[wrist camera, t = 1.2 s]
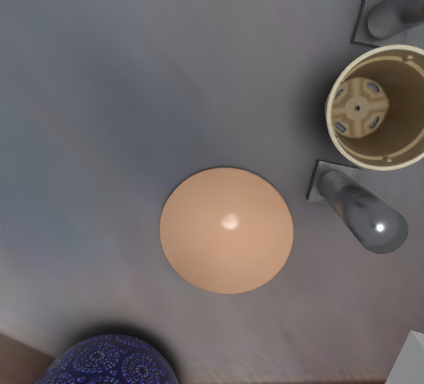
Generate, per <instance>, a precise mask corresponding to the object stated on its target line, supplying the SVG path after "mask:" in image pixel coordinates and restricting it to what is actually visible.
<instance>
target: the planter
mask: <svg viewBox="0 0 424 384" xmlns="http://www.w3.org/2000/svg"><path fill="white" fill-rule="evenodd" d="M33 384H179V383H178V380H177V378H176V375H175V373H174V371H173V369H172V367H171V366H170V364H169V363H168V361H167V360H166V359H165V357H164V356H163V355H162V354H161V353H160V352H159V351H158V350H157V349H156V348H154V347H153V346H152V345H150V344H149V343H147V342H145V341H143V340H141V339H139V338H136V337H133V336H129V335H124V334H104V335H98V336H94V337H91V338H89V339H86V340H83V341H81V342H79V343H77V344H75V345H73V346H72V347H70V348H68V349H67V350H65V351H64V352H63V353H62V354H61V355H59V356H58V357H57V358H56V359H55V360H54V361H53V362H52V363H51V364H50V365H49V366H48V367H47V368H46V369H45V370H44V372H43V373H42V374H41V375H40V376H39V377H38V378H37V379H36V381H35V382H34V383H33Z"/></svg>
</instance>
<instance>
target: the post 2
mask: <svg viewBox="0 0 424 384" xmlns="http://www.w3.org/2000/svg"><path fill="white" fill-rule="evenodd" d="M361 172H362V170H361V169H360V168H357V167H353V166H348V165H343V164H338V163H333V162H329V161H324V160H319V159H317V162H316V165H315V169H314V172H313V176H312V179H311V183H310V186H309V190H308V193H307V197H306V199H307V200H308V201H310V202H314V203H319V204H324V205H328V206H331V207H332V208H333V210H334V211H335V212H336V213H337V214H338V216H339V217H340V218H341V219H342V221H343V222H344V223H345V224H346V226H347V227H348V228H349V229H350V230H351V232H352V233H353V234H354V235H355V237H356V238H357V239H358V240H359V242H360V243H361V244H362V245H363V246H364V247H365V248H366V249H367V250H369V251H371V252H373V253H377V254H385V253H390V252H392V251H394V250H396V249H398V248H399V247H400V246H401V245H402V244H403V243H404V242H405V240H406V238H407V235H408V225H407V222H406V220H405V218H404V217H403V216H402V215H401V214H399V213H398V212H397V211H395V210H394V209H393V208H391V207H390V206H388V205H387V204H386V203H384V202H383V201H382V200H380V199H379V198H377V197H376V196H375V195H373V194H372V193H371V192H369V191H368V190H367V189H365V188H364V187H362V186H361V185H360V184H358V182H359V179H360V175H361Z"/></svg>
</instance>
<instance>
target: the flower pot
mask: <svg viewBox="0 0 424 384" xmlns="http://www.w3.org/2000/svg"><path fill="white" fill-rule="evenodd" d="M368 83H373V84H375V85H376V86H377V87H378V90H379V91H378V92H376V91H375V90H374V89H372V88H371V87H370V86H368ZM341 89H343V91H342V92H341V93H340V95H339V96H338V97H337V98H335V96H336V94H337V92H338V91H339V90H341ZM356 106H359V110H355V108H356ZM377 117H379V119H378V122H377V123H376V124H375V126H374V127H373V128H370V127H369V125H370V124H371V123H372V122H373V121H374V120H375V119H376V118H377ZM325 118H326V123H327V128H328V132H329V134H330V137H331V139H332V141H333V143H334V145H335V146H336V148H337V149H338V150H339V152H340V153H341V154H342V155H343V156H344V157H346V158H347V159H348V160H349V161H351V162H353V163H354V164H356V165H358V166H361V167H363V168H367V169H372V170H380V171H381V170H382V171H387V170H395V169H400V168H403V167H406V166H408V165H411V164H413V163H415V162H417V161H419V160H420V159H422V158H423V157H424V50H423V49H420V48H417V47H414V46H409V45H399V44H395V45H387V46H382V47H379V48H376V49H373V50H370V51H368V52H366V53H365V54H363V55H361V56H360V57H358V58H357V59H355V60H354V61H353V62H352V63H350V64H349V65H348V66H347V67H346V68H345V69H344V70H343V72H342V73H341V74H340V75H339V77H338V78H337V80H336V82H335V83H334V85H333V87H332V89H331V92H330V93H329V95H328V97H327V100H326V103H325ZM337 122H338V123H339V124H341V125H342V126H343V127H344V128H346V129H345V131H344V132H341V131H340V130H339V129H338V128H337V127H336V126H335V124H336V123H337Z"/></svg>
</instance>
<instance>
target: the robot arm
mask: <svg viewBox="0 0 424 384" xmlns="http://www.w3.org/2000/svg"><path fill="white" fill-rule="evenodd" d="M0 223H1V221H0ZM385 384H424V334H422V333H419V332H415V331H410V333H409V335H408V337H407V339H406V341H405V343H404V345H403V348H402V350H401V352H400V354H399V356H398V358H397V360H396V362H395V364H394V366H393V369H392V371H391V373H390V375H389V377H388V379H387V381H386V383H385Z"/></svg>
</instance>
